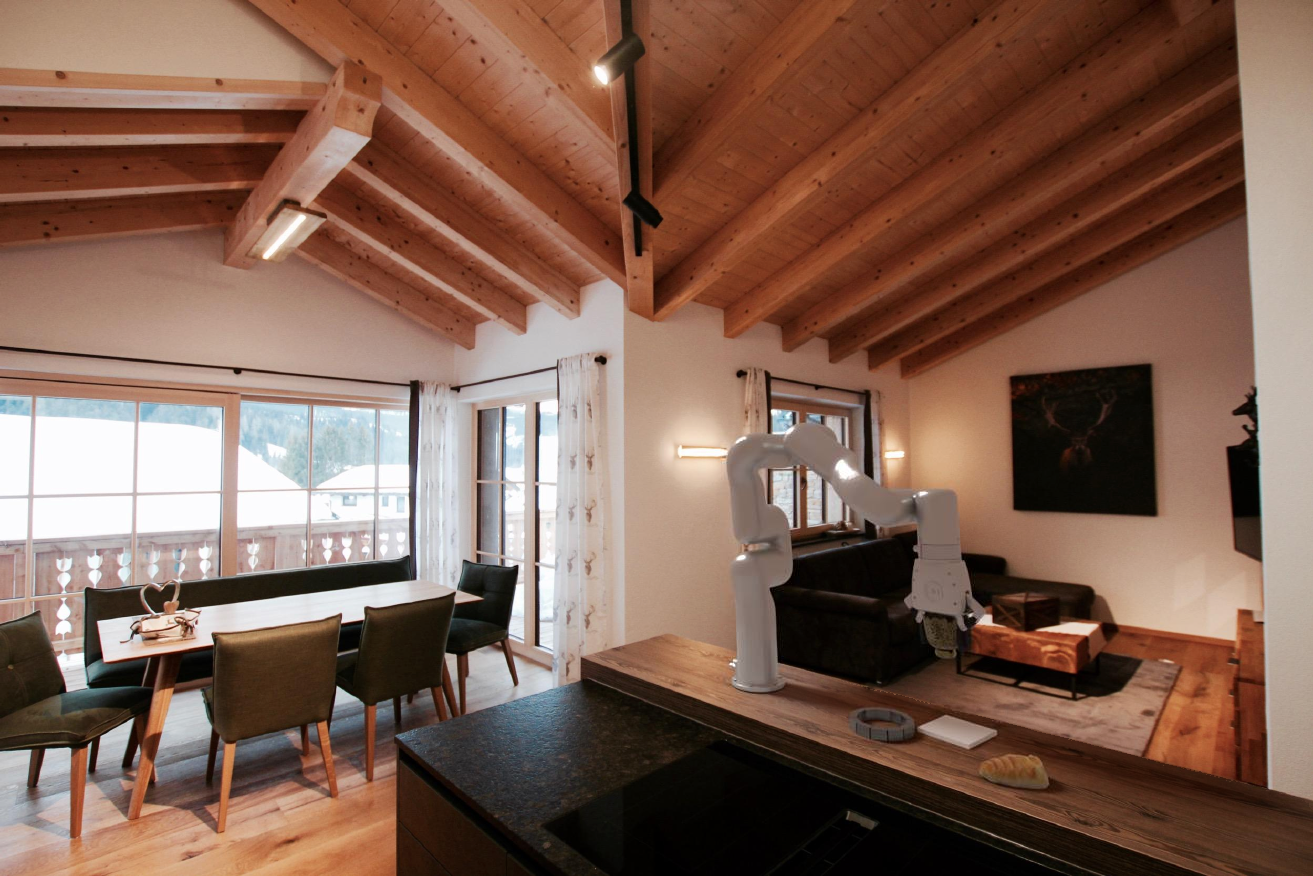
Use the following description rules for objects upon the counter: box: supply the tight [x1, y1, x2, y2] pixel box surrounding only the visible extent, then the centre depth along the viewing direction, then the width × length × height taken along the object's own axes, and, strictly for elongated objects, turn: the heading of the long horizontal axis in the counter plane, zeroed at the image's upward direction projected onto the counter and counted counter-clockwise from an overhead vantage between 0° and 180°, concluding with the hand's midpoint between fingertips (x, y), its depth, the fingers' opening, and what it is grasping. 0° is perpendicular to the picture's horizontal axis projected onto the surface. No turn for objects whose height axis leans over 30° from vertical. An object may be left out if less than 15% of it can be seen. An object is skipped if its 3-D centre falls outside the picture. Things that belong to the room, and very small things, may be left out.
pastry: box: [979, 753, 1050, 790], centre depth 100 cm, size 9×7×4 cm
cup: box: [922, 612, 960, 659], centre depth 119 cm, size 8×7×8 cm
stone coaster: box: [916, 714, 998, 750], centre depth 118 cm, size 10×10×1 cm
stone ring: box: [849, 706, 915, 743], centre depth 121 cm, size 12×12×2 cm
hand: (945, 646), depth 119 cm, fingers closed on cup, 6 cm apart
